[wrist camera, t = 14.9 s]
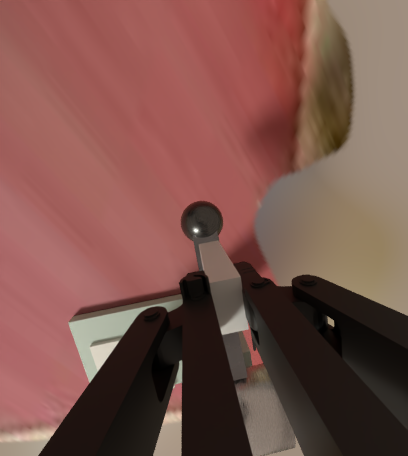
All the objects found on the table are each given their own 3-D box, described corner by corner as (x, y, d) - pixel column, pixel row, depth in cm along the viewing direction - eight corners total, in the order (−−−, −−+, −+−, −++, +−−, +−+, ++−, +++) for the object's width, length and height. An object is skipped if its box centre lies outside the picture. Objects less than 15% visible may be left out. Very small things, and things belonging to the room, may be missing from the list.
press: (69, 303, 31) (-21, 401, 17) (227, 271, 32) (260, 338, 18) (100, 392, 34) (46, 531, 21) (241, 360, 36) (277, 471, 22)
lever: (167, 215, 21) (158, 199, 16) (227, 204, 21) (236, 185, 17) (205, 432, 18) (207, 495, 13) (275, 415, 18) (303, 470, 13)
